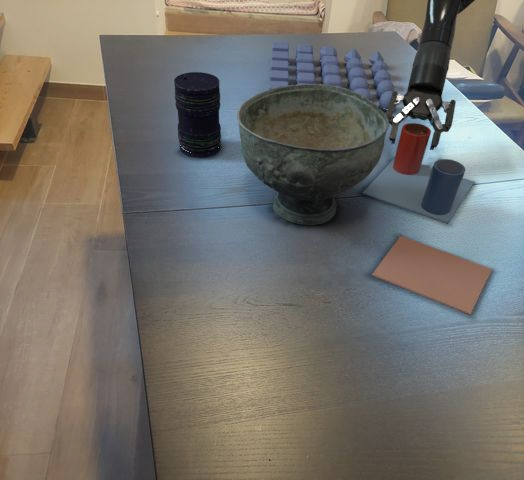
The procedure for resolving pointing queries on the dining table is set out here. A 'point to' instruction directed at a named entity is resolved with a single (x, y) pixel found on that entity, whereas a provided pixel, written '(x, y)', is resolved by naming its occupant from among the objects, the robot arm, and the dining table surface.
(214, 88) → the storage jar
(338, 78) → the blocks
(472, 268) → the rose mat
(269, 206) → the dining table surface
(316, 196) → the decorative bowl
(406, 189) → the blue mat
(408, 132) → the red pot
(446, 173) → the blue pot
